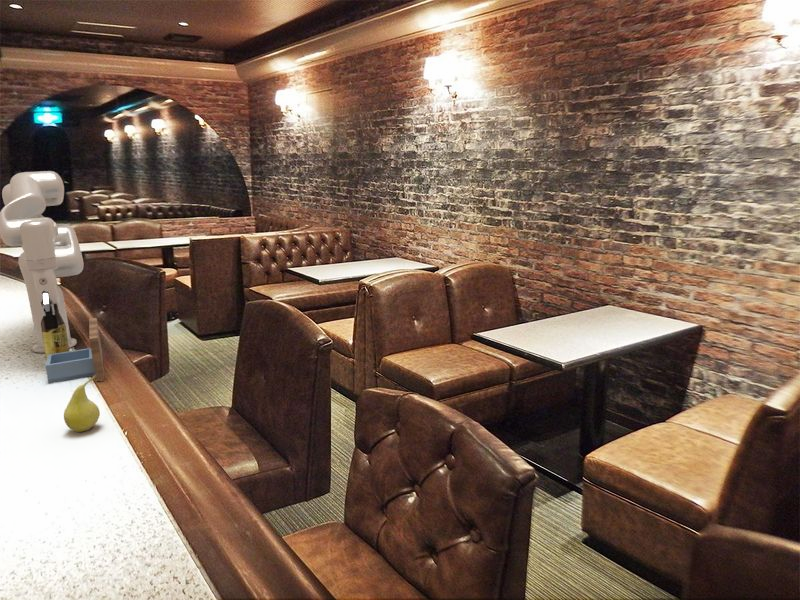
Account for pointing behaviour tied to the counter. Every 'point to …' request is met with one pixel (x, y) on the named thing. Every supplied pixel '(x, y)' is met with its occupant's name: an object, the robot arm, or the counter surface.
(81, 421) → the fruit
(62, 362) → the caddy
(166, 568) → the counter surface
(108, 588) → the counter surface
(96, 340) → the back board
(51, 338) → the sauce bottle
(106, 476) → the counter surface
